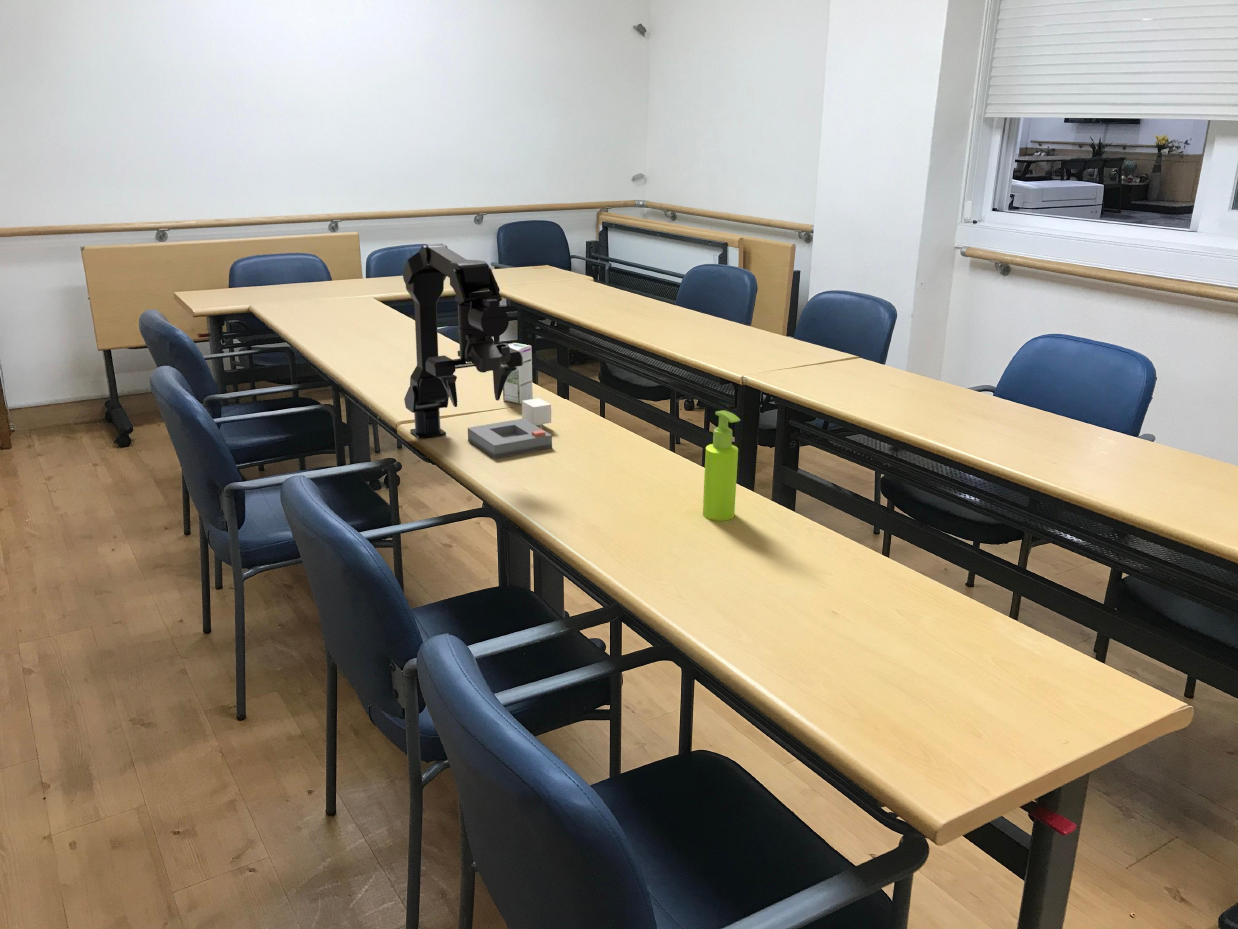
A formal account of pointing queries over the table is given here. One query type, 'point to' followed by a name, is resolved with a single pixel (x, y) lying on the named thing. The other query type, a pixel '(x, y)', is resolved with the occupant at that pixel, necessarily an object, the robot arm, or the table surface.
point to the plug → (536, 411)
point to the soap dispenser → (721, 471)
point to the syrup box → (520, 377)
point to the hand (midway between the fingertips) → (476, 403)
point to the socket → (509, 438)
